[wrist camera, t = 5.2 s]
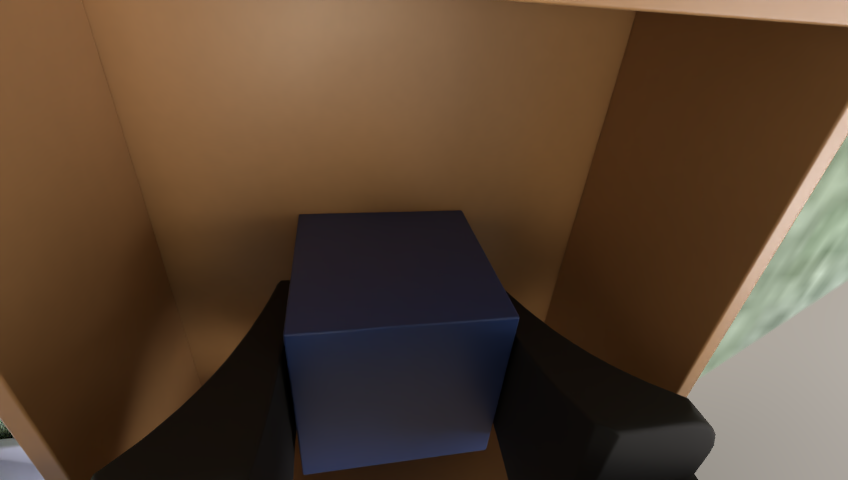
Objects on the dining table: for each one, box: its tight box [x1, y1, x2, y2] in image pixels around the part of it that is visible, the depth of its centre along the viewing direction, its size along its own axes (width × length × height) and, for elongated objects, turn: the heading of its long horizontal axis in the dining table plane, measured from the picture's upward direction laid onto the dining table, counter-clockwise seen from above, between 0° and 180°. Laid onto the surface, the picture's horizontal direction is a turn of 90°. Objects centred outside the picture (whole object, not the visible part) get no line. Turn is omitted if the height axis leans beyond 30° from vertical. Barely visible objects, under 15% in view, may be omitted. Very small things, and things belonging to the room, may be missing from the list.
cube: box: [283, 210, 519, 475], centre depth 12 cm, size 5×5×5 cm
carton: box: [0, 0, 848, 480], centre depth 11 cm, size 14×14×6 cm
